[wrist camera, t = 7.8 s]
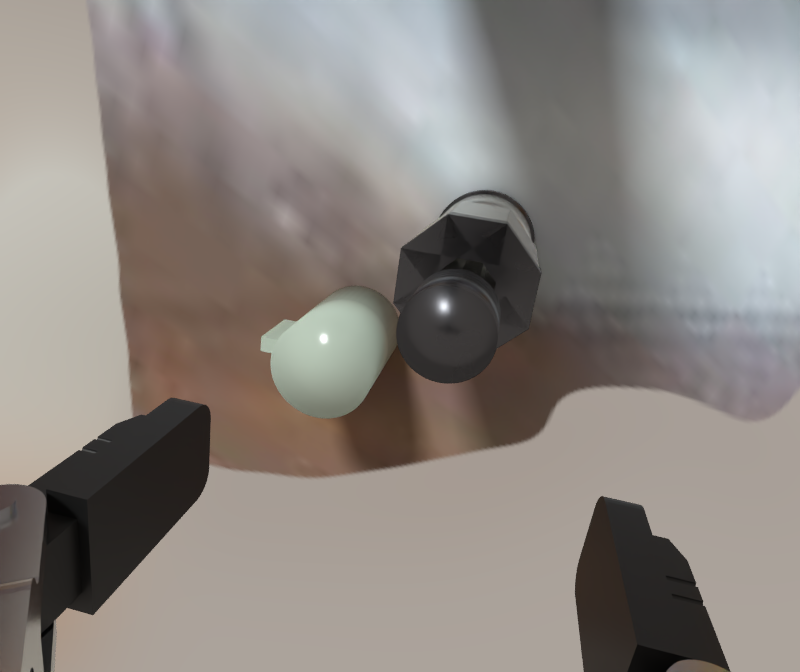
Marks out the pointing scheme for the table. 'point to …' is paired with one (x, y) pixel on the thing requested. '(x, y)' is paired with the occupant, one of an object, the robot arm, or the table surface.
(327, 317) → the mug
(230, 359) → the table surface
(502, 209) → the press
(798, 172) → the table surface
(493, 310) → the plunger
